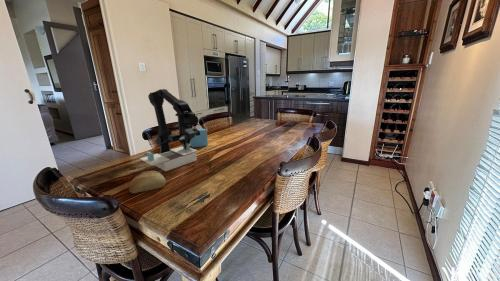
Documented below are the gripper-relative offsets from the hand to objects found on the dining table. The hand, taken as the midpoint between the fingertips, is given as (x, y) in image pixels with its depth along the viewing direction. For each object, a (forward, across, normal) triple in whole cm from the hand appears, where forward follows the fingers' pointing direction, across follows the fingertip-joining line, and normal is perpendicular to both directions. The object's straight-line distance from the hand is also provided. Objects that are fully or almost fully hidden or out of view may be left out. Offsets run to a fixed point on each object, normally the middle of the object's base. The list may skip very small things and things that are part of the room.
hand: (186, 148), depth 127 cm
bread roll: (+7, -32, -19) cm, 38 cm away
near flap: (+1, -20, 0) cm, 20 cm away
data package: (+6, +20, +15) cm, 26 cm away
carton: (+6, -8, 0) cm, 10 cm away
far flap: (+1, -2, 0) cm, 2 cm away
